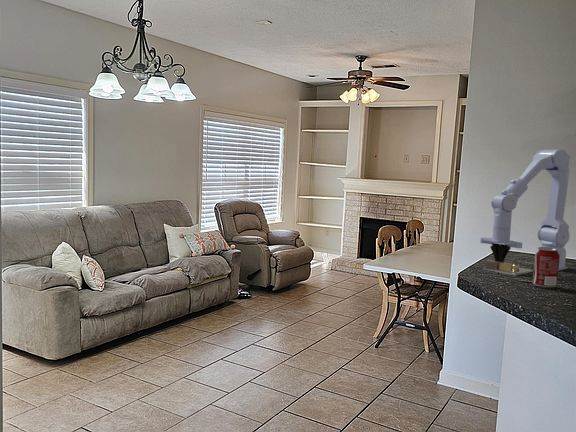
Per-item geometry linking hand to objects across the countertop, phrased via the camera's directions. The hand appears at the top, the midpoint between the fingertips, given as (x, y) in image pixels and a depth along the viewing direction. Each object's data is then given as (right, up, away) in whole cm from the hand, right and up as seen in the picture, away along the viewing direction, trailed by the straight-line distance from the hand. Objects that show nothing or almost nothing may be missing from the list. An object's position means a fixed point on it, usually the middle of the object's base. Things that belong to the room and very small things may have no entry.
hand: (499, 265), depth 183 cm
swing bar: (0, -1, -3) cm, 4 cm away
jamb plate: (+3, -2, -1) cm, 3 cm away
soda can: (+4, -4, -25) cm, 25 cm away
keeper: (-1, -2, -2) cm, 3 cm away
